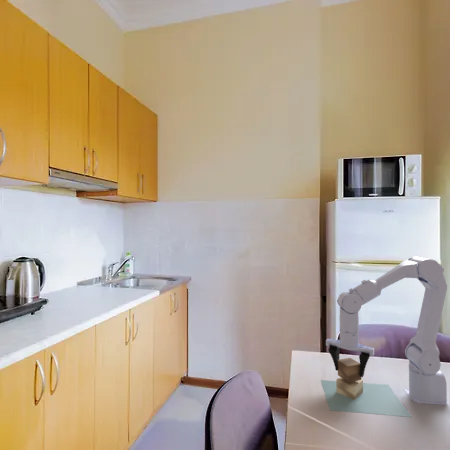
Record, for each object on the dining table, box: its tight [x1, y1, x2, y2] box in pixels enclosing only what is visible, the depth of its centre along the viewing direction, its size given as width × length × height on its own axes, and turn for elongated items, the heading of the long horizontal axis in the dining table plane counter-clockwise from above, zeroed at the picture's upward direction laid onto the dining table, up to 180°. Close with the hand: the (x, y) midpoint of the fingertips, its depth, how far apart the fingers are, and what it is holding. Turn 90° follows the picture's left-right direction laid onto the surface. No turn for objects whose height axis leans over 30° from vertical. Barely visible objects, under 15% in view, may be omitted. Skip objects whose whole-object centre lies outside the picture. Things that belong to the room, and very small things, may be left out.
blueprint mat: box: [320, 379, 412, 418], centre depth 97 cm, size 22×18×1 cm
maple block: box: [335, 376, 364, 400], centre depth 100 cm, size 6×6×4 cm
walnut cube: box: [337, 357, 362, 382], centre depth 100 cm, size 5×5×5 cm
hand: (349, 372), depth 100 cm, fingers closed on walnut cube, 7 cm apart
